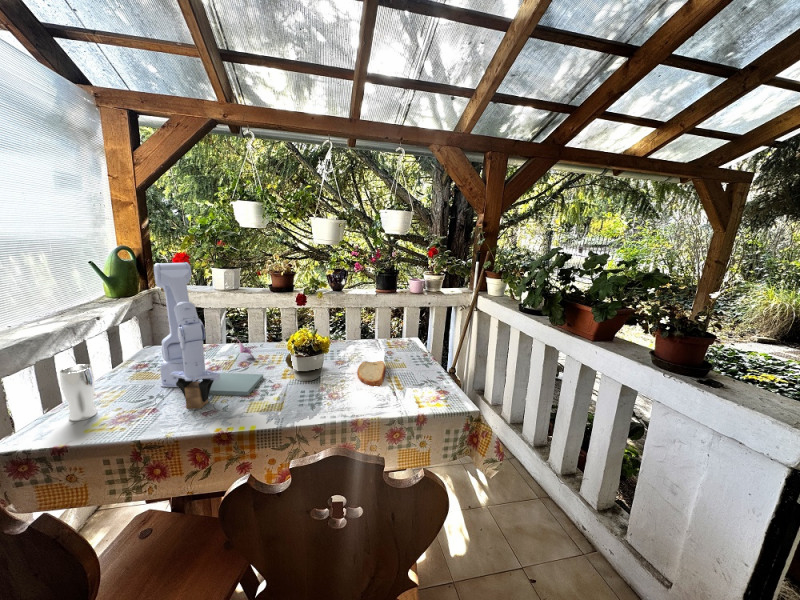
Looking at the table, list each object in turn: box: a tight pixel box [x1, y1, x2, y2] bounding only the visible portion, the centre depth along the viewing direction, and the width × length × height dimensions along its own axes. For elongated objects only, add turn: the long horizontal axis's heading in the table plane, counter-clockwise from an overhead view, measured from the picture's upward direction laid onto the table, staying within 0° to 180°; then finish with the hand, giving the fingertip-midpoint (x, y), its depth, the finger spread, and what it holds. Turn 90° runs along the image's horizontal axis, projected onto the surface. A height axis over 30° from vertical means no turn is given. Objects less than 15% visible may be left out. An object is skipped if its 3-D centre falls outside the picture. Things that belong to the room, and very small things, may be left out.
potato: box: [285, 353, 294, 370], centre depth 136 cm, size 8×13×8 cm, turn 94°
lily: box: [234, 336, 253, 362], centre depth 145 cm, size 12×12×10 cm
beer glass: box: [59, 363, 98, 422], centre depth 98 cm, size 7×7×15 cm
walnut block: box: [184, 381, 209, 410], centre depth 107 cm, size 4×4×7 cm
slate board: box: [209, 372, 264, 396], centre depth 122 cm, size 18×14×2 cm
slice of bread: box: [356, 360, 387, 387], centre depth 136 cm, size 18×18×4 cm
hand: (197, 400), depth 108 cm, fingers closed on walnut block, 4 cm apart
